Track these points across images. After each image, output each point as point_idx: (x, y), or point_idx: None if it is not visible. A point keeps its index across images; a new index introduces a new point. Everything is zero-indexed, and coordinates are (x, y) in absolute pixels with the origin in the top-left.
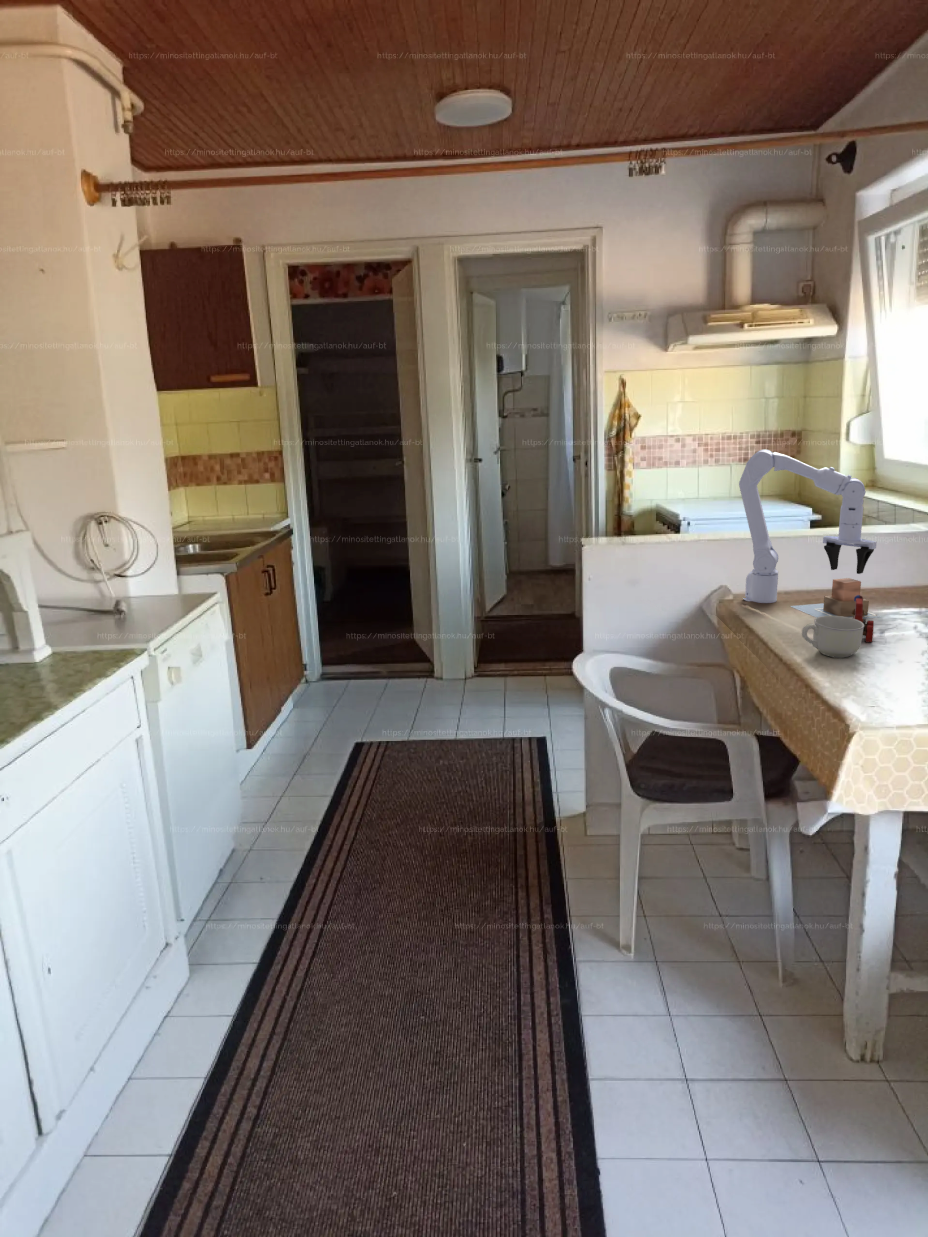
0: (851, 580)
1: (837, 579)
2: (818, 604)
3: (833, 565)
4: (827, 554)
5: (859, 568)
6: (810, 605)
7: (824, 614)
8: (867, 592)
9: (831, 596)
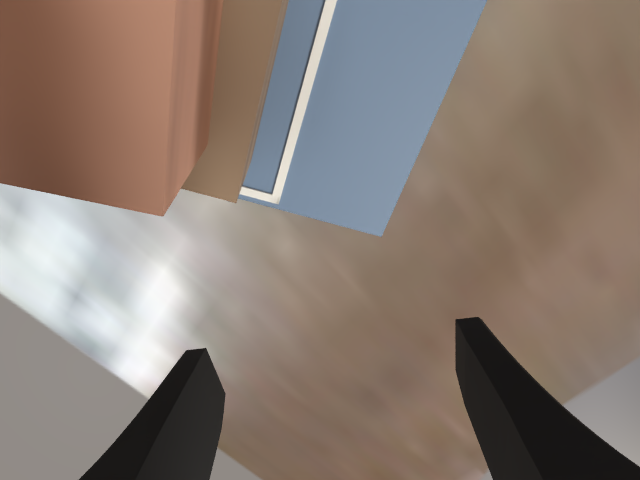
0: (33, 135)
1: (148, 47)
2: (430, 80)
3: (469, 357)
4: (609, 447)
5: (157, 389)
6: (453, 6)
7: None
8: (439, 445)
9: (248, 10)
